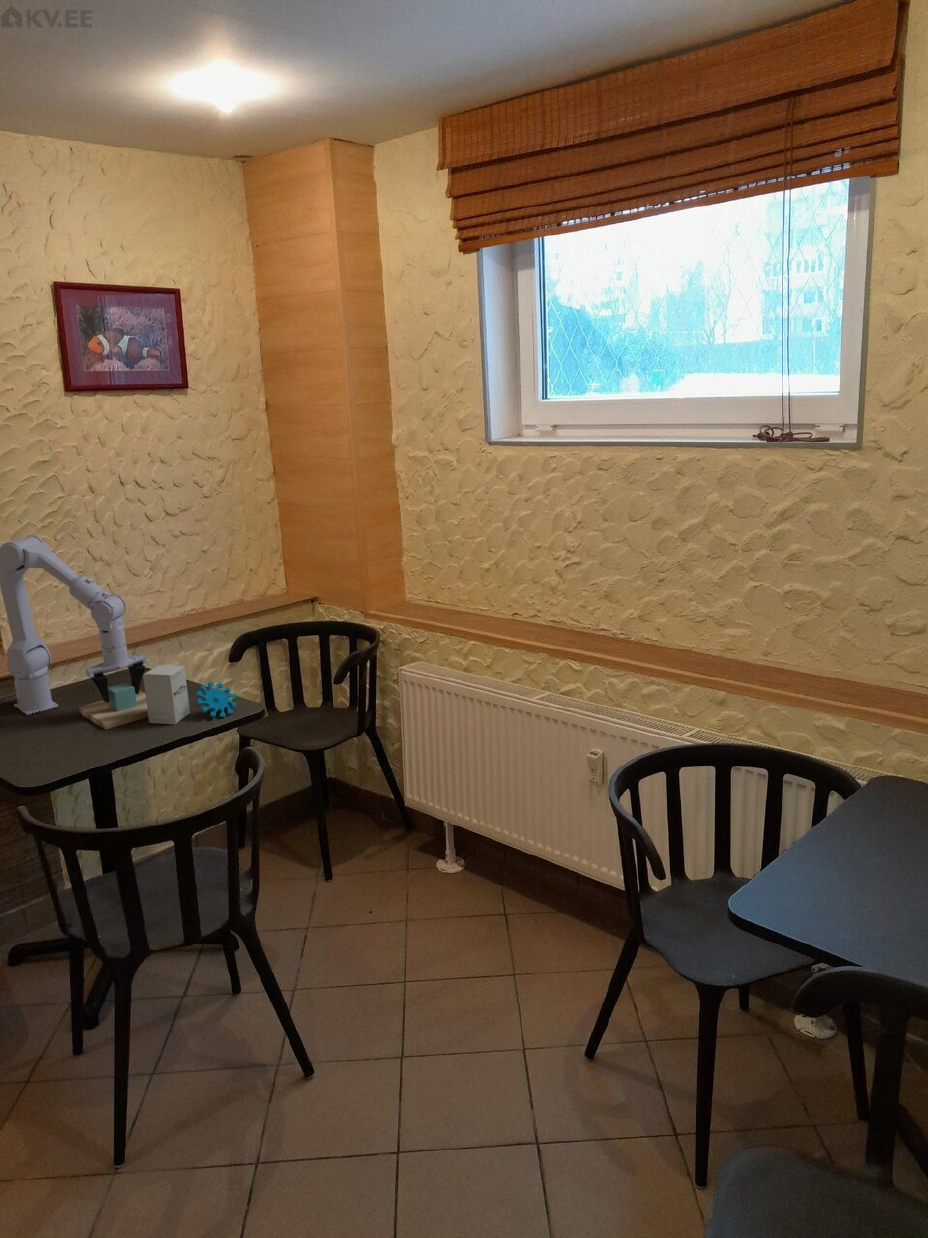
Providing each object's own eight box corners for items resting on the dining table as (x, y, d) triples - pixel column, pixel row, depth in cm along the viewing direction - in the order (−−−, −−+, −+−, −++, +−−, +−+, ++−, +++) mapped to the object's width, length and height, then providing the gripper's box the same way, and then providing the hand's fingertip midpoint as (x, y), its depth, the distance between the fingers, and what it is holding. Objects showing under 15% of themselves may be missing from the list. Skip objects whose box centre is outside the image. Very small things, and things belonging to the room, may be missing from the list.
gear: (204, 718, 224) (192, 682, 228) (196, 730, 228) (184, 694, 232) (246, 711, 231) (234, 677, 235) (238, 723, 235) (226, 689, 239)
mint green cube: (109, 706, 234) (106, 687, 232) (128, 701, 237) (125, 682, 236) (117, 711, 230) (114, 692, 229) (137, 706, 234) (134, 687, 232)
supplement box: (176, 725, 225) (169, 675, 221) (148, 723, 226) (141, 674, 223) (191, 713, 232) (185, 665, 228) (164, 712, 233) (157, 664, 230)
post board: (79, 712, 235) (76, 694, 233) (140, 695, 245) (137, 677, 244) (105, 729, 223) (102, 710, 222) (168, 710, 234) (165, 692, 232)
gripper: (91, 655, 222) (99, 709, 226) (149, 641, 231) (156, 693, 235) (79, 649, 227) (87, 702, 231) (136, 636, 236) (143, 686, 240)
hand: (121, 697), depth 233 cm, fingers open, 7 cm apart
